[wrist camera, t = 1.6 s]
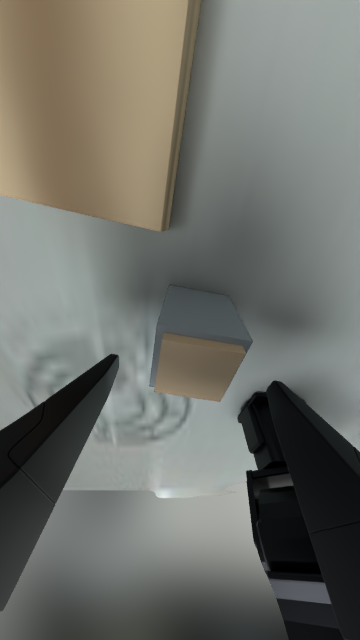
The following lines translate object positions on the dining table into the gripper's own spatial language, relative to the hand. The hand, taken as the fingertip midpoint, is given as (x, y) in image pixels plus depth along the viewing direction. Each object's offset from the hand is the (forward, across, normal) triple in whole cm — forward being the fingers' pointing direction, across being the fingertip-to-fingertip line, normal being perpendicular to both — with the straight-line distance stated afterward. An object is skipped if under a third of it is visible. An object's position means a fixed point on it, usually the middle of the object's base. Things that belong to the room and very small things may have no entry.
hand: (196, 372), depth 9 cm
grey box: (+6, 0, 0) cm, 6 cm away
